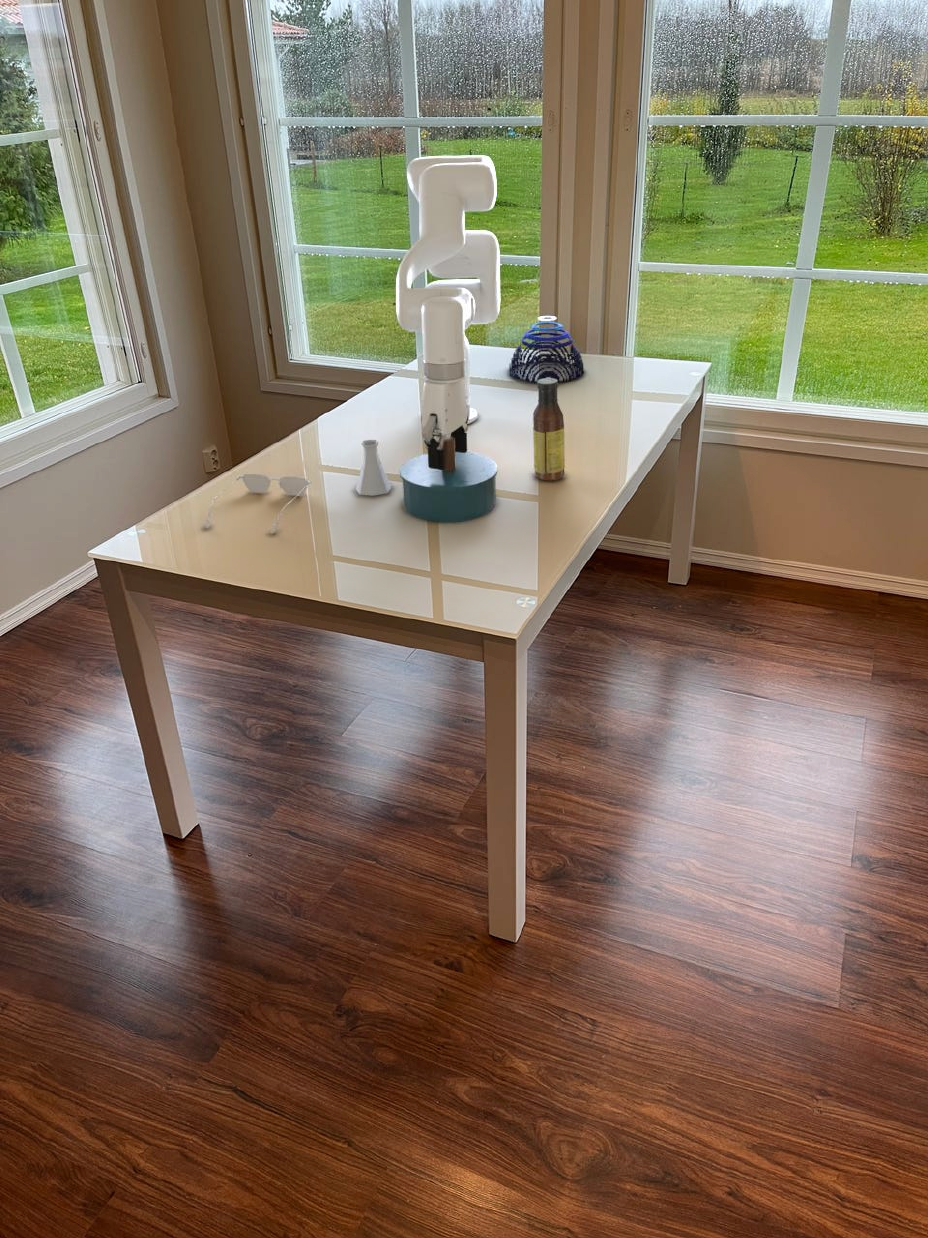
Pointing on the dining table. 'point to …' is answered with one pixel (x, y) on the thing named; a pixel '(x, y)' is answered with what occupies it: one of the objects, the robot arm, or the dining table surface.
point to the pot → (449, 502)
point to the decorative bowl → (576, 356)
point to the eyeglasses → (262, 483)
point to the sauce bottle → (548, 432)
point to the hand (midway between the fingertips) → (448, 459)
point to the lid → (449, 470)
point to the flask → (372, 472)
